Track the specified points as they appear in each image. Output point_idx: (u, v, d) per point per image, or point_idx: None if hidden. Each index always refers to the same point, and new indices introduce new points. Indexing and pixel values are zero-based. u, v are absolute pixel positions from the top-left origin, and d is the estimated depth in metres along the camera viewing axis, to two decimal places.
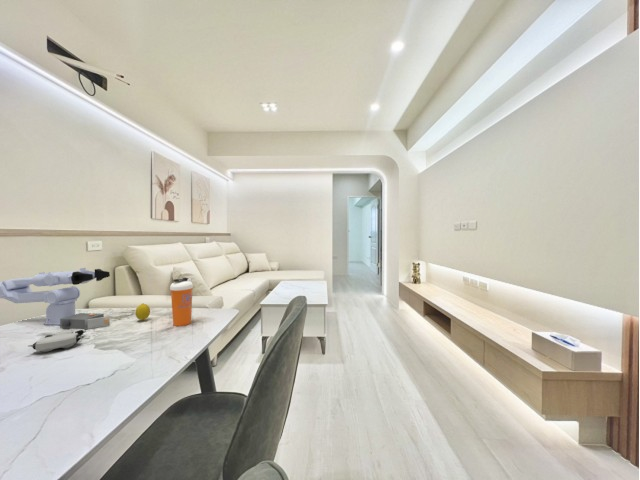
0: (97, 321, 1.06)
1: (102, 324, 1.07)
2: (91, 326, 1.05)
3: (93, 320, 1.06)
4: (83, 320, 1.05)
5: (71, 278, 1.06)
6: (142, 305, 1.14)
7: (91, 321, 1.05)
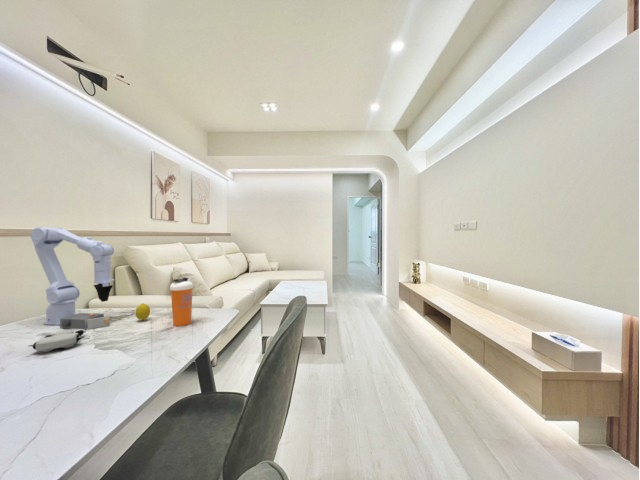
0: (97, 321, 1.06)
1: (102, 324, 1.07)
2: (91, 326, 1.05)
3: (93, 320, 1.06)
4: (83, 320, 1.05)
5: (105, 286, 1.10)
6: (142, 305, 1.14)
7: (91, 321, 1.05)
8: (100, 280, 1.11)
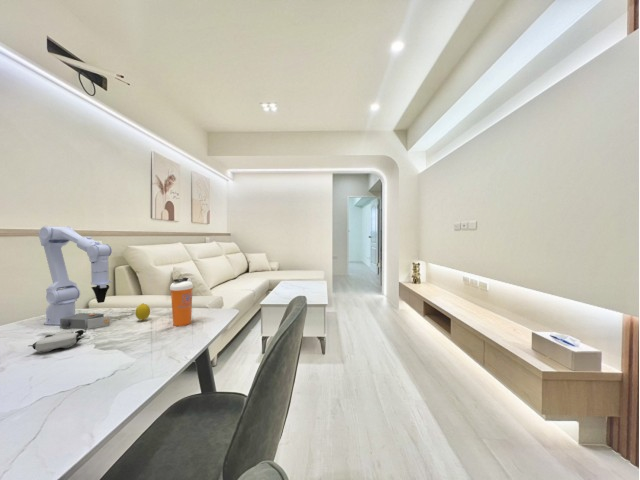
0: (97, 321, 1.06)
1: (102, 324, 1.07)
2: (91, 326, 1.05)
3: (93, 320, 1.06)
4: (83, 320, 1.05)
5: None
6: (142, 305, 1.14)
7: (91, 321, 1.05)
8: (97, 281, 1.07)
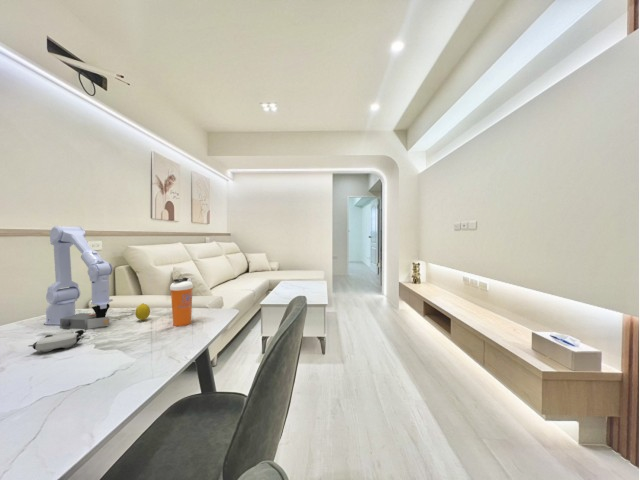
0: (97, 321, 1.06)
1: (102, 324, 1.07)
2: (91, 326, 1.05)
3: (93, 320, 1.05)
4: (83, 320, 1.05)
5: None
6: (142, 305, 1.14)
7: (90, 322, 1.05)
8: (98, 301, 1.05)
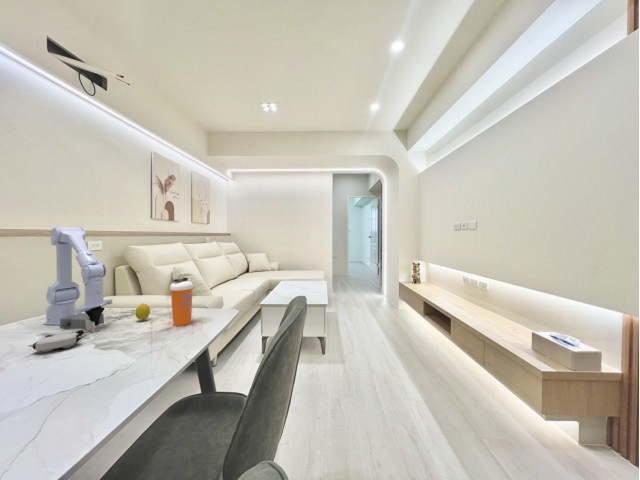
0: (88, 324, 1.03)
1: (90, 329, 1.02)
2: (87, 327, 1.04)
3: (87, 322, 1.03)
4: (83, 320, 1.05)
5: (89, 310, 1.01)
6: (142, 305, 1.14)
7: (86, 323, 1.04)
8: (85, 304, 1.01)
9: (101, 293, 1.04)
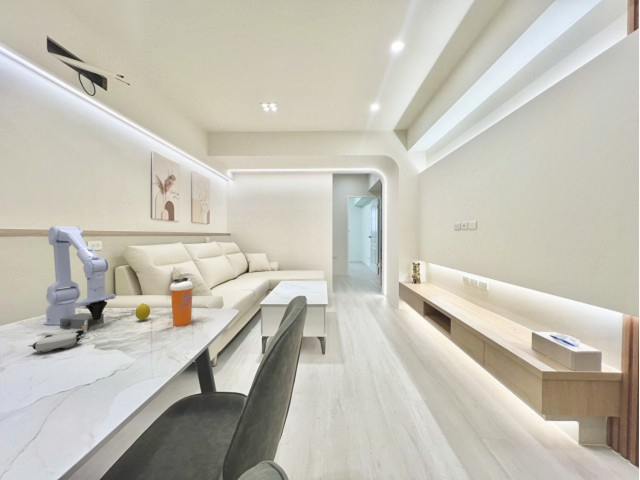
0: None
1: None
2: None
3: None
4: (83, 320, 1.05)
5: (89, 304, 1.03)
6: (142, 305, 1.14)
7: None
8: (87, 298, 1.03)
9: (102, 288, 1.06)
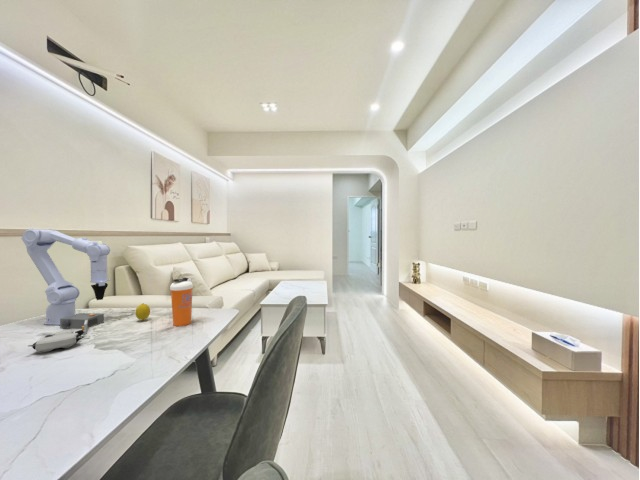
0: None
1: None
2: None
3: None
4: (83, 320, 1.05)
5: None
6: (142, 305, 1.14)
7: None
8: (96, 280, 1.12)
9: None
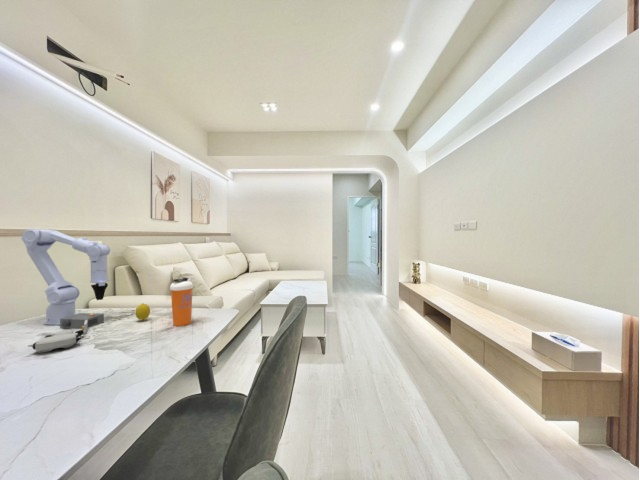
0: None
1: None
2: None
3: None
4: (83, 320, 1.05)
5: None
6: (142, 305, 1.14)
7: None
8: (96, 280, 1.12)
9: None
